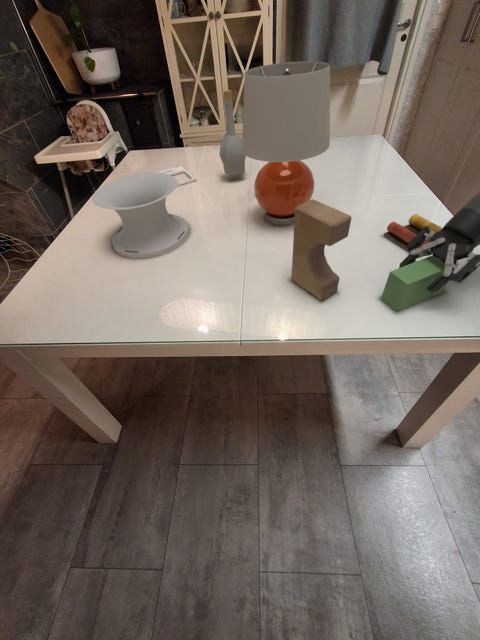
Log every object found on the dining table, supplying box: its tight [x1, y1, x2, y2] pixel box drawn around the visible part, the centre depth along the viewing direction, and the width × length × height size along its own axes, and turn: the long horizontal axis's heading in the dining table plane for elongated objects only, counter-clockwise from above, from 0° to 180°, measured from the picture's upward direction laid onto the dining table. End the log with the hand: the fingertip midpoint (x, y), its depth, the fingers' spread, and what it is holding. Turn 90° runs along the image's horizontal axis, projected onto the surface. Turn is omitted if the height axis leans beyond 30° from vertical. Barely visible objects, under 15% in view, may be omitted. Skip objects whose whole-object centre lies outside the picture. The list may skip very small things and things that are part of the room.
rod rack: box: [383, 213, 443, 253], centre depth 84 cm, size 12×12×4 cm
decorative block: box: [290, 198, 352, 302], centre depth 68 cm, size 11×6×20 cm, turn 34°
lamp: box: [241, 60, 331, 227], centre depth 86 cm, size 25×25×39 cm
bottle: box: [219, 89, 247, 180], centre depth 115 cm, size 11×11×30 cm
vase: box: [91, 171, 190, 259], centre depth 93 cm, size 25×25×16 cm
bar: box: [380, 255, 459, 312], centre depth 67 cm, size 5×14×8 cm, turn 114°
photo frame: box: [156, 165, 196, 186], centre depth 131 cm, size 15×1×18 cm
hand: (414, 280), depth 66 cm, fingers open, 7 cm apart
